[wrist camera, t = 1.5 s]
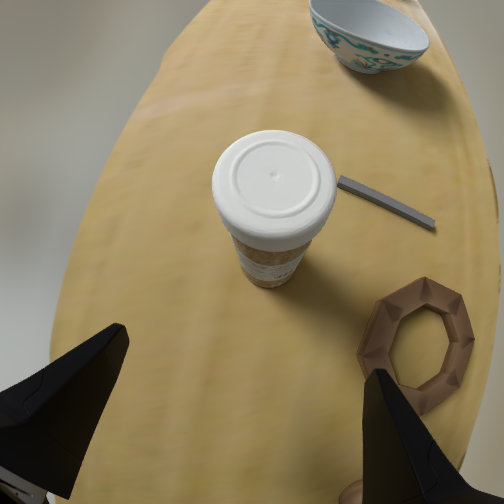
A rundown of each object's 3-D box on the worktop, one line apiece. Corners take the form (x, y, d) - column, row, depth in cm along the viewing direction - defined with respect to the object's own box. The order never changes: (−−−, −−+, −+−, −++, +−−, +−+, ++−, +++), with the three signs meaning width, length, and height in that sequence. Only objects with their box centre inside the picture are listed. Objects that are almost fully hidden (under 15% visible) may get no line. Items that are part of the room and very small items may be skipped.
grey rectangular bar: (430, 223, 23) (434, 220, 22) (429, 230, 23) (433, 227, 22) (338, 179, 24) (341, 174, 23) (336, 186, 24) (338, 182, 23)
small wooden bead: (377, 506, 16) (387, 521, 13) (334, 513, 16) (341, 530, 13) (387, 474, 17) (399, 487, 14) (342, 481, 17) (351, 497, 14)
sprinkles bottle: (283, 225, 23) (304, 113, 10) (306, 276, 22) (362, 209, 9) (231, 245, 23) (193, 148, 10) (252, 298, 22) (236, 259, 9)
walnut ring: (437, 416, 18) (445, 420, 17) (339, 391, 20) (345, 395, 18) (473, 307, 21) (482, 305, 19) (386, 265, 22) (394, 262, 21)
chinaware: (288, 68, 28) (292, 17, 21) (319, 23, 31) (324, -16, 24) (407, 113, 26) (432, 69, 19) (411, 57, 29) (426, 21, 22)
